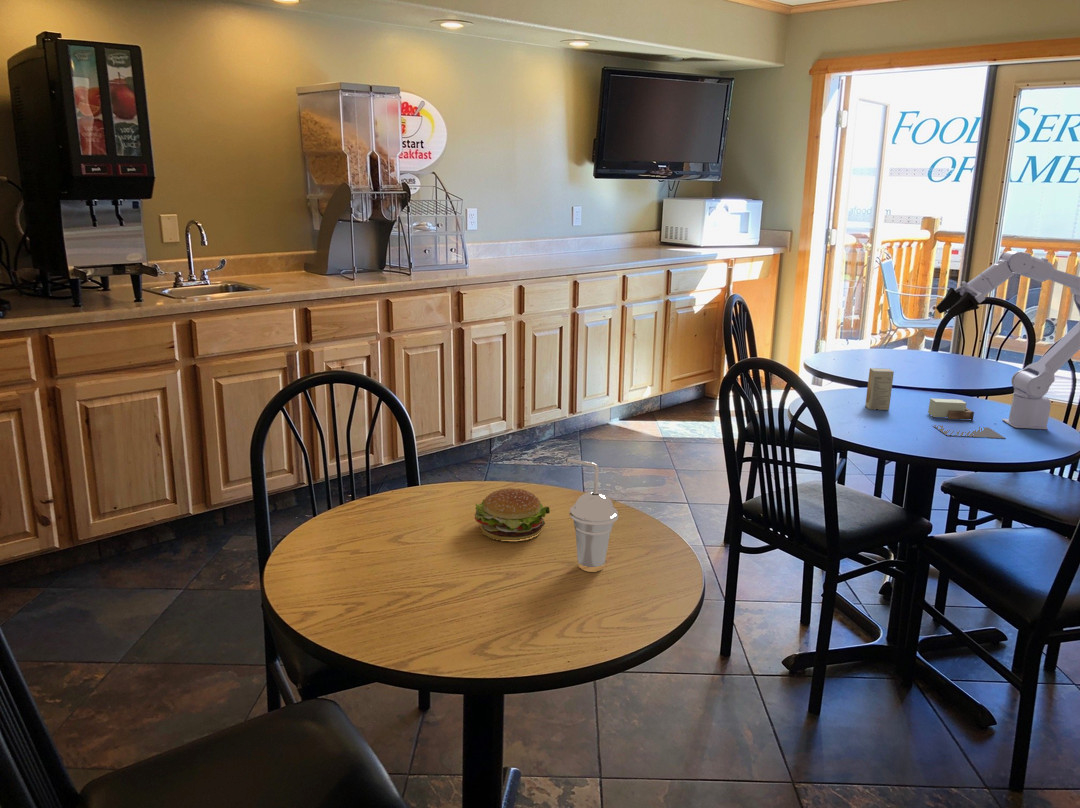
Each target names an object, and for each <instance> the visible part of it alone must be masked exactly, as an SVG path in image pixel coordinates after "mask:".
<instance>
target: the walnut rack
mask: <svg viewBox="0 0 1080 808" xmlns="http://www.w3.org/2000/svg"><path fill="white" fill-rule="evenodd" d="M974 415H975V412H974V411H973V410H971V409H969V408H968V407H966V409H965V411H952V410H949V412H948V418H949V419H948V420H951V419H971V420H970V421H974Z"/></svg>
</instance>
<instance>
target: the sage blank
mask: <svg viewBox="0 0 1080 808" xmlns="http://www.w3.org/2000/svg"><path fill="white" fill-rule="evenodd" d="M928 404H929V405H928V411H927V414H928V413H929V414H930V415H932V416H933V417H948V412H949V410H952V411H965V409H966V408H967V405H968V404H967V403H966V402H965V401H964V400H962V399H955V398H954V399H951V398H931V397H930V399H929V403H928ZM929 414H928V415H929ZM930 415H929V416H930ZM932 416H931V417H932ZM933 417H932V418H933Z"/></svg>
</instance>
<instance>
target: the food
mask: <svg viewBox="0 0 1080 808" xmlns="http://www.w3.org/2000/svg"><path fill="white" fill-rule="evenodd" d="M550 513H551V512H550V506H543V504H542V503H541V501H540V499H539V498H538V496H536V494H534V493H532V492H530V491H528V490H526V489H520V488H514V487H513V488H511V487H510V488H501V489H500V488H499V489H498V490H497V489H496V490H495V491H493V492H491V493H489V494H488V495H487V496H486V497H485V498H484V499H483V500H482V503H479V504H477V503H475V513H474V519H475V521H476V522H477V523H479V524H480V529H481V532H482V534H483V535H484V534H485V535H484V536H485V537H487V536H488V537H487V538H489V537H490V538H494V539H498V540H520V539H526V538H530V537H532V536H535V535H537V534H538V533H539V532H540V531H541V529H543V527H544V526H545V524H546V521H545V519H544V518H545V517H546V515H547V514H550ZM541 532H542V531H541ZM490 538H489V539H490ZM494 539H493V540H494ZM498 540H497V541H498Z"/></svg>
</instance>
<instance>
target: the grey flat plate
mask: <svg viewBox="0 0 1080 808" xmlns="http://www.w3.org/2000/svg"><path fill="white" fill-rule="evenodd" d="M933 425H934V426H935V427H936V425H938V424H933ZM938 426H940V427H941V429H938ZM938 426H937V427H936V428H937V429H938V430H937V429H936V428H935V427H934V428H935V429H936V430H937V431H939V430H940V431H941V434H943V433H944V434H945V435H944V434H943V435H944V436H946V434H947V433H948V432H949V431H950V430H949V431H948V430H947V431H948V432H947V431H944V432H943V430H944V428H943V424H942V426H941V424H939V425H938ZM978 427H979V430H978V431H977V432H976V430H975V431H973V432H972V433H971V434H970V435H969V433H970V431H969V432H968V433H967V434H966V435H967V436H968V435H969V437H968V438H977V437H988V438H987V439H999V438H1003V440H1005V439H1006V437H1004V436H1003V435H1002V434H1000V433H998V432H997V431H996V430H993V429H991V428H990V427H988V426H987V427H986V426H985V427H986V428H985V427H983V428H984V430H983V431H982V428H981V432H980V427H981V426H978ZM942 428H943V429H942ZM940 431H939V432H940ZM953 432H954V431H953ZM953 432H952V433H953ZM959 432H960V431H959ZM959 432H957V435H958V434H959ZM952 433H951V434H952ZM963 433H964V432H962V433H961V435H960V436H962V435H963ZM965 433H966V432H965ZM951 434H950V435H951ZM973 434H974V435H973ZM950 435H947V436H946V437H951V436H950ZM957 435H956V436H957ZM966 435H965V436H966ZM972 436H973V437H972ZM953 437H955V435H954V436H953Z"/></svg>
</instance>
